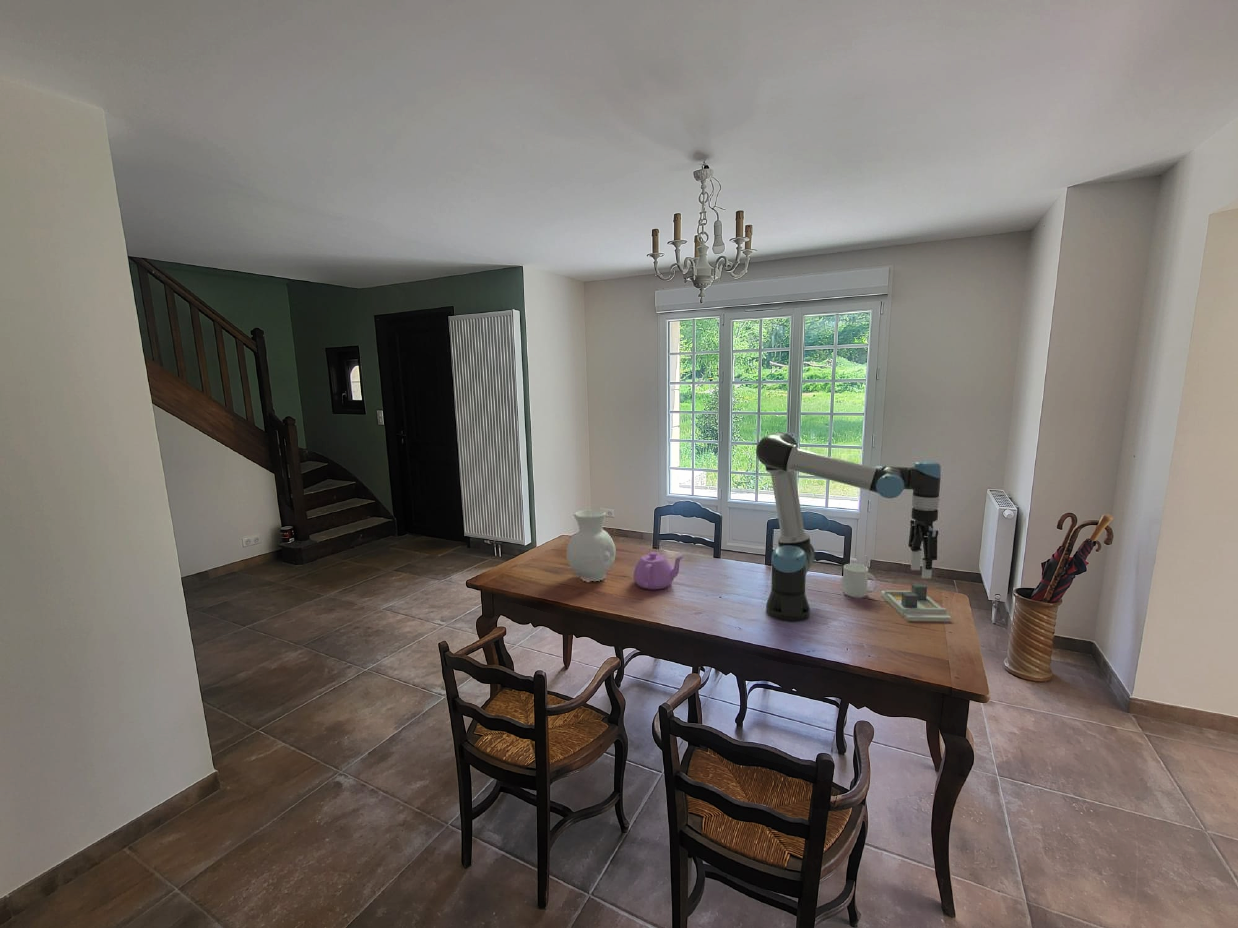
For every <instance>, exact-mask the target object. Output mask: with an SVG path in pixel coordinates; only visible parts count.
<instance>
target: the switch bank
mask: <svg viewBox="0 0 1238 928" xmlns="http://www.w3.org/2000/svg"><path fill="white" fill-rule="evenodd" d="M902 592H911V590H888V589H887V590H881V591H880V595H881V596H882V598H884V599H885V601H886V602H888V603H889V604H890V605H891V606H892V607H893V608H894V609H895V611H897V612H898V613H899V614H900V615H901V616H902V617H903V618H904V619H905V620H906V621H907V622H945V623H946V622H952V617H951V616H950V615H949V614H948V613H947V608H945V607H942V606H940V605H939V604H938V603H937V602H936V601H934V600H933V599H932V598H931V597H929V595H927V596H926V600H918V601H917V608H905V607H904V606H902V605H901V601H902Z"/></svg>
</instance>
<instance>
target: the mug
mask: <svg viewBox="0 0 1238 928" xmlns="http://www.w3.org/2000/svg"><path fill="white" fill-rule="evenodd" d="M842 573H843V579H842V592H843V594H845V595H846V596H848V597H851V598H857V599H858V598H859V599H860V598H865V597H866V596H867V595H868V594H872V593H874V592H875V591H876V590H877V587H878V581H877V579H876V577H875V576H874V575H873V574H871V573H870V572H869V567H867V566H866V565H863V564H858V563H846V564H844V565H843V572H842ZM868 579H871V580H873V581H874V583H875V587H874V588H869V587H868V584H869V583H868V581H869V580H868Z"/></svg>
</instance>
